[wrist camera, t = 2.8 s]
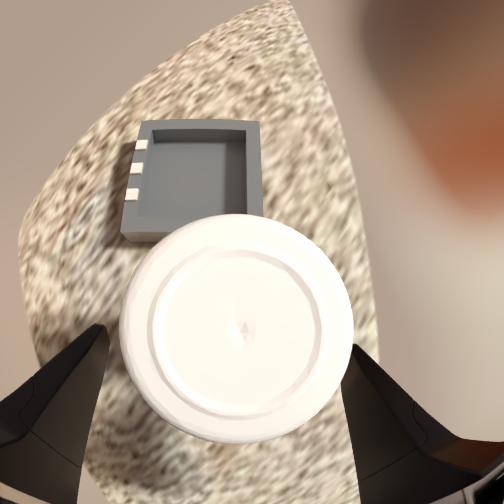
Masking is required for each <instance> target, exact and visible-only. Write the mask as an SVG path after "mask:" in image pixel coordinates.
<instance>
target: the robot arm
mask: <svg viewBox="0 0 504 504" xmlns="http://www.w3.org/2000/svg"><path fill="white" fill-rule="evenodd" d="M109 346H110V339H109V336H108V332H107V329H106V326H105V325H103V324H98V323H95V324H93V325H92V326H90V327H89V328H88V329H87V330H86V331H84V332H83V333H82V334H81V335H80V336H78V337H77V338H76V339H75V340H74V341H72V342H71V343H70V344H69V345H68V346H66V347H65V348H64V349H63V350H62V351H60V352H59V353H58V354H57V355H56V356H55V357H53V358H52V359H51V360H50V361H49V362H48V363H47V364H45V365H44V366H43V367H42V368H41V369H40V370H39V371H37V372H36V373H35V374H34V376H32V377H31V378H29V379H28V380H27V381H26V382H25V383H24V384H22V385H21V386H20V387H19V388H18V389H16V390H15V391H14V392H13V393H11V394H10V395H9V396H7V397H6V398H4V399H3V400H2V401H0V504H77V496H78V489H79V482H80V476H81V468H82V464H83V458H84V453H85V448H86V444H87V439H88V435H89V430H90V426H91V422H92V418H93V414H94V410H95V406H96V403H97V399H98V395H99V392H100V388H101V385H102V381H103V377H104V372H105V366H106V361H107V356H108V351H109ZM341 392H342V398H343V403H344V408H345V413H346V418H347V423H348V428H349V433H350V438H351V444H352V449H353V455H354V460H355V466H356V472H357V479H358V486H359V493H360V500H361V504H504V442H489V441H478V440H468V439H462V438H460V437H458V436H456V435H454V434H452V433H451V432H450V431H449V430H448V429H446V428H445V427H444V426H443V425H441V424H440V423H439V422H438V421H437V420H435V419H434V418H433V417H431V415H429V414H428V413H427V412H426V411H425V410H424V409H423V408H422V407H421V406H420V405H418V403H417V402H415V401H413V399H412V398H411V397H410V396H409V395H408V394H407V393H406V392H405V391H404V390H403V389H402V388H401V387H400V386H399V385H398V384H397V383H396V382H395V381H394V380H393V379H392V378H391V377H390V376H389V375H388V374H387V373H386V372H385V371H384V370H383V369H382V368H381V367H380V366H379V365H378V364H377V363H376V362H375V361H374V360H373V359H372V358H371V357H370V356H369V355H368V354H367V353H366V352H365V351H364V350H363V349H362V348H361V347H360V346H358V345H357V344H352V351H351V355H350V359H349V363H348V366H347V369H346V371H345V374H344V376H343V378H342V380H341Z"/></svg>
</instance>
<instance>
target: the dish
mask: <svg viewBox="0 0 504 504" xmlns="http://www.w3.org/2000/svg"><path fill="white" fill-rule="evenodd" d="M226 214H246V215H254V216H260V217H263V195H262V171H261V148H260V127H259V121H245V120H223V119H170V120H149V121H142V122H141V126H140V130H139V134H138V138H137V142H136V146H135V150H134V155H133V159H132V164H131V169H130V174H129V179H128V184H127V189H126V195H125V201H124V207H123V214H122V221H121V229H120V232H121V233H122V234H123V235H124V236H125V237H126V238H127V239H128V240H129V242H160V241H161V240H162V239H163V238H165V237H166V236H168V235H169V234H171V233H172V232H173V231H175V230H177V229H179V228H181V227H183V226H185V225H187V224H189V223H191V222H194V221H196V220H200V219H203V218H207V217H211V216H218V215H226Z"/></svg>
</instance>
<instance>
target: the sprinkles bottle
mask: <svg viewBox="0 0 504 504" xmlns="http://www.w3.org/2000/svg"><path fill="white" fill-rule="evenodd" d="M119 339H120V348H121V352H122V356H123V360H124V363H125V366H126V369H127V371H128V374H129V376H130V378H131V381H132V382H133V384H134V386H135V387H136V389H137V390H138V392H139V394H140V395H141V396H142V398H143V399H144V400H145V401H146V403H147V404H148V405H149V406H150V407H151V408H152V409H153V410H154V411H155V412H156V413H157V414H158V415H159V416H160V417H161V418H162V419H164V420H165V421H167V422H168V423H170V424H171V425H173V426H174V427H176V428H178V429H179V430H181V431H183V432H185V433H187V434H190V435H192V436H195V437H197V438H200V439H203V440H207V441H211V442H216V443H223V444H252V443H257V442H263V441H267V440H271V439H274V438H276V437H279V436H282V435H284V434H286V433H289V432H291V431H292V430H294V429H296V428H298V427H300V426H301V425H303V424H304V423H305V422H307V421H308V420H309V419H311V418H312V417H313V416H314V415H316V414H317V413H318V412H319V411H320V410H321V409H322V408H323V407H324V406H325V404H326V403H327V402H328V401H329V400H330V398H331V397H332V395H333V394H334V392H335V391H336V389H337V388H338V386H339V384H340V382H341V380H342V378H343V376H344V374H345V371H346V369H347V366H348V363H349V359H350V355H351V351H352V344H353V316H352V310H351V305H350V300H349V297H348V294H347V291H346V288H345V286H344V284H343V282H342V280H341V278H340V276H339V274H338V272H337V270H336V269H335V267H334V266H333V264H332V263H331V262H330V260H329V259H328V258H327V256H326V255H325V254H324V253H323V252H322V251H321V249H319V248H318V247H317V246H316V245H315V244H314V243H313V242H312V241H310V240H309V239H308V238H306V237H305V236H304V235H302V234H300V233H299V232H297V231H295V230H294V229H292V228H290V227H288V226H286V225H284V224H282V223H279V222H277V221H274V220H271V219H267V218H264V217H260V216H254V215H246V214H226V215H218V216H211V217H207V218H203V219H200V220H196V221H194V222H191V223H189V224H187V225H185V226H183V227H181V228H179V229H177V230H175V231H173V232H172V233H171V234H169V235H168V236H166V237H165V238H163V239H162V240H161V241H160V242H158V243H157V244H156V245H155V246H154V247H153V248H151V249H150V250H149V252H148V253H147V255H146V256H145V257H144V258H143V259H142V261H141V262H140V263H139V265H138V266H137V267H136V269H135V271H134V273H133V275H132V276H131V278H130V280H129V283H128V285H127V287H126V290H125V293H124V296H123V301H122V305H121V311H120V319H119Z"/></svg>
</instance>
